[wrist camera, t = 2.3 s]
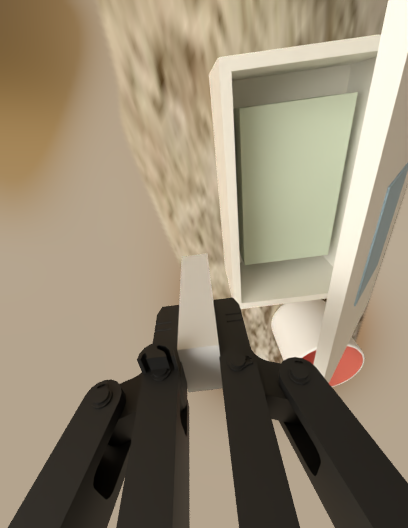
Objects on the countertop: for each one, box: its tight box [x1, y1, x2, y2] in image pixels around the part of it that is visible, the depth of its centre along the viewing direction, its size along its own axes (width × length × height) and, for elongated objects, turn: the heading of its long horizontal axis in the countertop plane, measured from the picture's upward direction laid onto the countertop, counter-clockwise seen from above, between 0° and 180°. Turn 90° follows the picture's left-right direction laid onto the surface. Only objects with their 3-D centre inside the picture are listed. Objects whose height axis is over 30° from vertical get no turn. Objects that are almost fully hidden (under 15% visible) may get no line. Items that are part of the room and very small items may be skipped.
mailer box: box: [209, 34, 381, 309], centre depth 25 cm, size 14×22×9 cm, turn 7°
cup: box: [271, 299, 365, 387], centre depth 37 cm, size 10×10×10 cm
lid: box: [313, 0, 408, 383], centre depth 17 cm, size 14×23×1 cm
